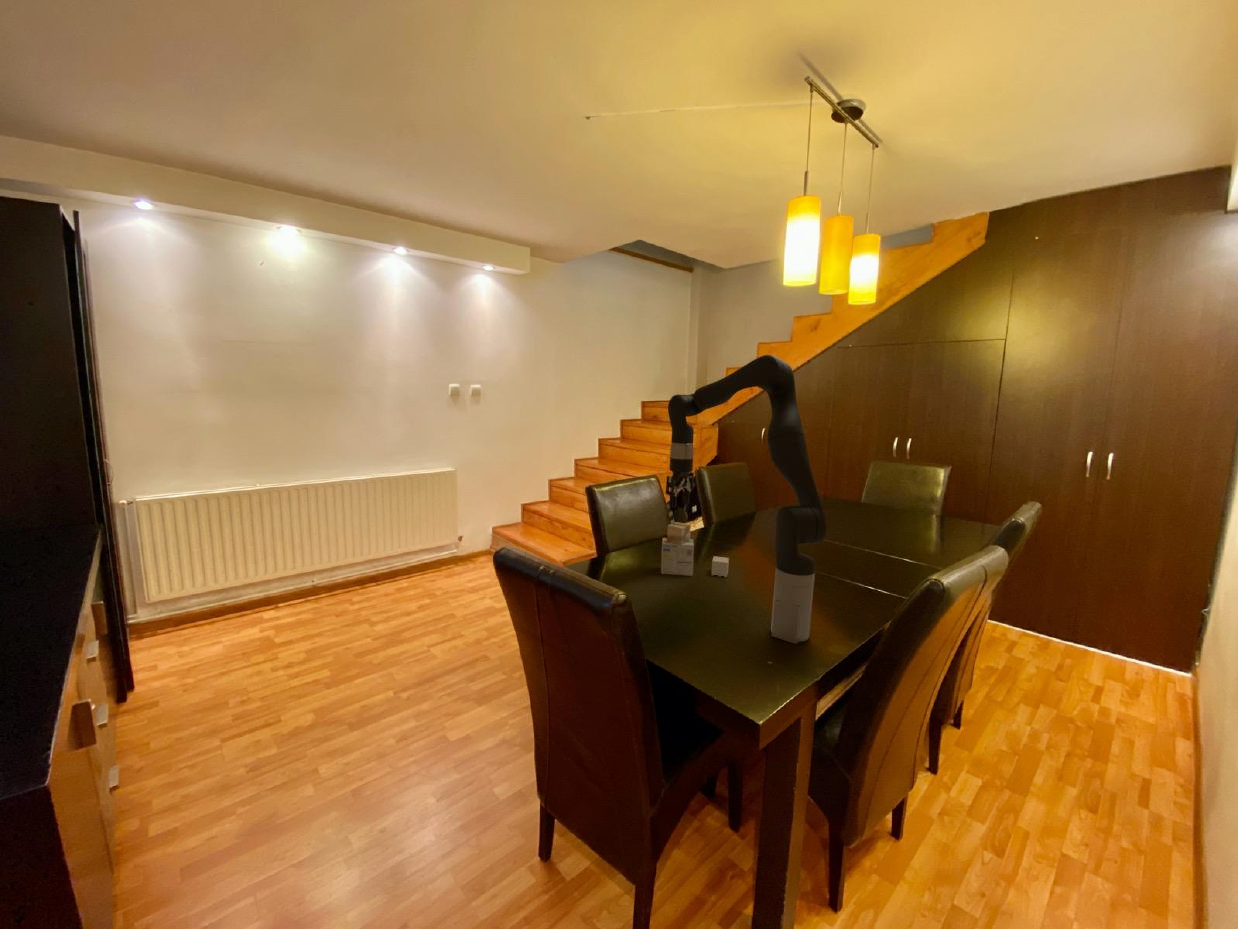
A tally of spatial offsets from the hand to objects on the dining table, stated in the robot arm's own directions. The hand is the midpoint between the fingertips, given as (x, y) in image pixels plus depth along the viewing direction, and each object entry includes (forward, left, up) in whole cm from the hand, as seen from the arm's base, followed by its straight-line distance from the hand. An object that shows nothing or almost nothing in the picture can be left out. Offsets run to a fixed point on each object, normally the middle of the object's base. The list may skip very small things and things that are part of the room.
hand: (679, 505), depth 164 cm
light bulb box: (0, 0, -23) cm, 23 cm away
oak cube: (0, 0, -12) cm, 12 cm away
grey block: (+8, -12, -23) cm, 27 cm away
